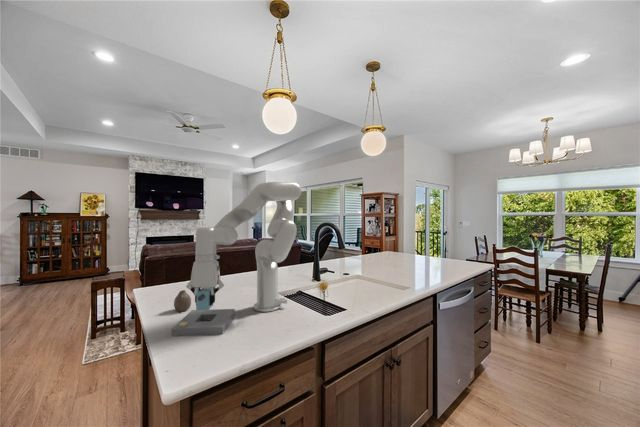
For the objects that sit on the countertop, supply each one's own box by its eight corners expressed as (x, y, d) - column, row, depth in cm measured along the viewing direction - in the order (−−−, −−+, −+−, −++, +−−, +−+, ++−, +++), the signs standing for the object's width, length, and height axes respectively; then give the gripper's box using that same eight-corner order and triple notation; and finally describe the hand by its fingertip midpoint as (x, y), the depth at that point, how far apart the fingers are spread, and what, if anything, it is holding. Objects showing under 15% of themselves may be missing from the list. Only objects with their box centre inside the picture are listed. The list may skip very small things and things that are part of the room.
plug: (213, 305, 106) (213, 287, 106) (206, 312, 98) (206, 293, 98) (201, 305, 106) (201, 288, 106) (193, 312, 98) (194, 293, 98)
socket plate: (234, 314, 113) (234, 307, 113) (222, 333, 95) (222, 324, 95) (192, 315, 112) (192, 308, 112) (171, 335, 94) (171, 326, 94)
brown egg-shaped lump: (170, 312, 116) (170, 292, 116) (183, 306, 123) (183, 288, 123) (182, 314, 114) (181, 294, 114) (194, 308, 121) (194, 289, 121)
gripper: (230, 256, 108) (229, 301, 108) (187, 256, 107) (187, 301, 107) (224, 260, 101) (224, 307, 100) (179, 259, 99) (178, 308, 99)
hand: (205, 303), depth 103 cm, fingers closed on plug, 4 cm apart
